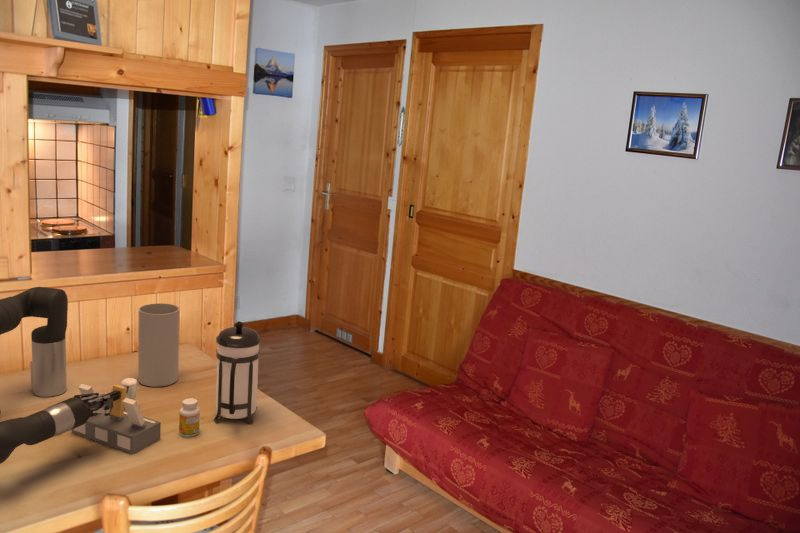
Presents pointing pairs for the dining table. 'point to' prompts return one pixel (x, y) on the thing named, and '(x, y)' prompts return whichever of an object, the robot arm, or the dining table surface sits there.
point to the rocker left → (85, 389)
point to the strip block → (120, 432)
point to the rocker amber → (118, 403)
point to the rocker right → (134, 412)
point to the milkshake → (130, 387)
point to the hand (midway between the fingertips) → (118, 394)
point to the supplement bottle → (189, 418)
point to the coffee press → (237, 373)
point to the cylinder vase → (158, 344)
